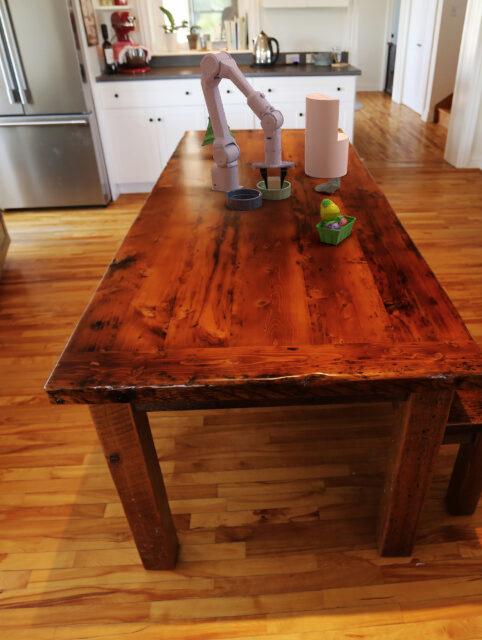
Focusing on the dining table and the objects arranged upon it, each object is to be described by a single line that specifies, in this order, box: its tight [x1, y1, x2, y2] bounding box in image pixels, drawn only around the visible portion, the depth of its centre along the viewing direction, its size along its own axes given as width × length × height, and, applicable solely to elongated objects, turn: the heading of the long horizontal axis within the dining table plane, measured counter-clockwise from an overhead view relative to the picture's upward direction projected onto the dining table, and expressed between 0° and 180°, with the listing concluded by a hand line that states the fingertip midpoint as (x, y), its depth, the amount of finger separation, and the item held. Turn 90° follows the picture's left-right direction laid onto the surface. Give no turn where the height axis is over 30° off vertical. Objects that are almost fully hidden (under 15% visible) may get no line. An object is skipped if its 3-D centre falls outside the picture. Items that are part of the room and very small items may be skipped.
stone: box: [314, 177, 341, 195], centre depth 177 cm, size 11×4×10 cm
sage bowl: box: [256, 180, 292, 201], centre depth 174 cm, size 12×12×4 cm
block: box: [267, 176, 281, 190], centre depth 173 cm, size 4×4×5 cm
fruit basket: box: [316, 198, 356, 246], centre depth 140 cm, size 11×9×11 cm
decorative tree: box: [201, 117, 236, 147], centre depth 210 cm, size 14×16×30 cm
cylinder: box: [304, 92, 350, 179], centre depth 191 cm, size 17×17×28 cm
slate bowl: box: [225, 187, 263, 211], centre depth 166 cm, size 12×12×4 cm
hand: (273, 189), depth 174 cm, fingers closed on block, 4 cm apart
